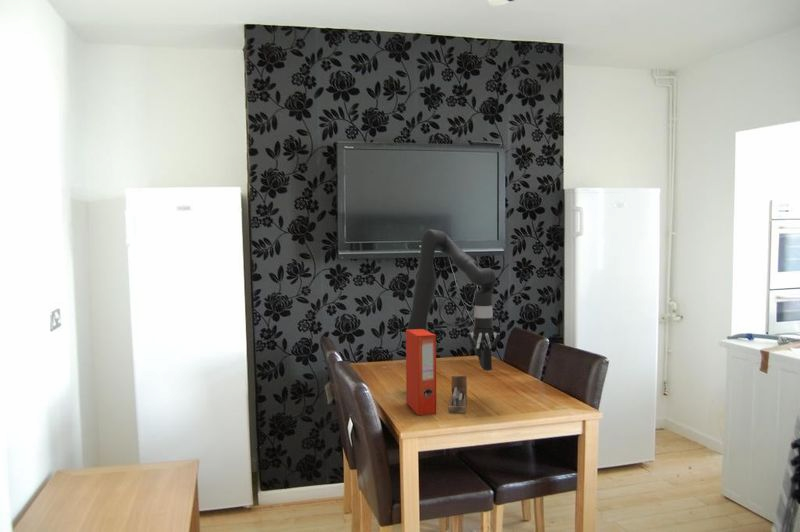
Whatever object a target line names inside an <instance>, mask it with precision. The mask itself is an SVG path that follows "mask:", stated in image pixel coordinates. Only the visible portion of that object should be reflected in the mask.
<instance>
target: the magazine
mask: <svg viewBox="0 0 800 532" xmlns="http://www.w3.org/2000/svg"><path fill="white" fill-rule="evenodd" d="M479 348H480V358H478V362H479V365H480V367H481V369H483V371H488V372H490V371H492V370H493V368H492V367H493V364H492V360H493V359H492V358H493V357H492V350H491V351H490V349H489V346H488V344H487V342H486V341H485V340H483V341H480V346H479Z"/></svg>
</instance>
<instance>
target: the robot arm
mask: <svg viewBox="0 0 800 532" xmlns="http://www.w3.org/2000/svg"><path fill="white" fill-rule="evenodd" d="M435 252H441V253H444V255H447V256H448V257H449V258H450V260H451V261H452V263H453V264H454V266H456V268H458V269H459V270H461V272H463V273H464V274H465V275H466V276H467V278H468V279H469V281H470V282H471V283H473V284H474V285H476V286H480V288H479V290H478V291H476V292H475V295H474V311H473V316H474V329H473V331H471V332H468V333H467V336H468V340H469V343H470V344H471V347H473V348H475V349H476V351H475V353H476V354H475V355H476V357H477V358H478V359H479V358H480V348H479V346H480V341H483V340H485V342H486V345H488V346H489V349H490V351H491V352H492V349H493V348H496V346H497V343H498V341H499V338H500V336H501V335H500V333H499V332H495V331H494V325H493V323H494V322H493V319H494V318H493V316H494V314H493V313H494V312H493V293H494V289H495V286H496V285H495V284H496V278H497V277H496V274H495V271H494V269H492V268H489V267H485V268H483V267H481V268H480V267H479V263H478V261H477V260H476V259H474V258H473V257H472V256H470V255H469V254H467V252H465V251H464V250H463V249H462V248H460V247H459V246H458V245H457V243H455V242H454V241H453V240H452V239H451V237H450V236H449V235H448V234H447V233H446V232H445V231H442V230H438V229H437V230H436V229H431V228H430V229H429V228H428V229H426V230H425V231H424V233H423V235H422V237H421V245H420V255H419V256H420V258H419V264H418V270H417V276H416V281H415V286H414V291H413V299H412V309H411V314H410V317H409V320H408V321H409V322H408V324H407V327H406V330H410V329H424V330H426V331H428V332H429V327H428V325H427V321H428V314H429V312H430V311H429V310H430V308H431V306H432V303H433V299H434V298H435V297H434V296H435V292H436V289H437V282H438V280H437V275H436V270H435V267H434V257H435ZM474 336H475V337H476V339H477V341H476V343H475V341H474V339H473V338H474ZM492 337H494V340H493V343H491V338H492Z"/></svg>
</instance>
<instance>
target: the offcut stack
mask: <svg viewBox="0 0 800 532" xmlns="http://www.w3.org/2000/svg"><path fill="white" fill-rule="evenodd" d="M463 400H464V399H463V398H462V393H460V390H457V388H455V389H454V393H453V406H461V407H463Z"/></svg>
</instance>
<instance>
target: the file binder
mask: <svg viewBox="0 0 800 532" xmlns="http://www.w3.org/2000/svg"><path fill="white" fill-rule="evenodd" d="M405 367H406V368H405V371H406V372H405V373H406V374H405V375H406V376H405V380H406V381H405V383H406V384H405V389H406V391H405V392H406V393H405V394H406V396H405V397H406V405H408V407H410V408H411V410H412V411H413V412H414V413H416V414H417V415H418V416H427V415H428V414H430V415H436V414H437V335H436V334H435V333H432V332H430V331H429V330H428V331H426V330H424V329H410V330H407V329H405Z"/></svg>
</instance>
